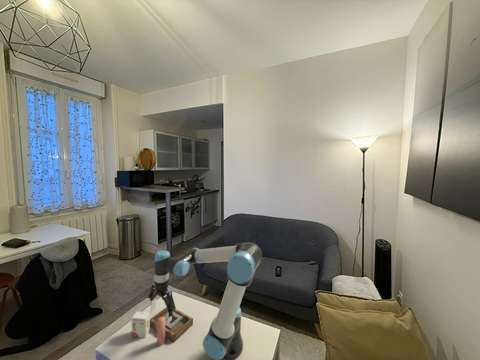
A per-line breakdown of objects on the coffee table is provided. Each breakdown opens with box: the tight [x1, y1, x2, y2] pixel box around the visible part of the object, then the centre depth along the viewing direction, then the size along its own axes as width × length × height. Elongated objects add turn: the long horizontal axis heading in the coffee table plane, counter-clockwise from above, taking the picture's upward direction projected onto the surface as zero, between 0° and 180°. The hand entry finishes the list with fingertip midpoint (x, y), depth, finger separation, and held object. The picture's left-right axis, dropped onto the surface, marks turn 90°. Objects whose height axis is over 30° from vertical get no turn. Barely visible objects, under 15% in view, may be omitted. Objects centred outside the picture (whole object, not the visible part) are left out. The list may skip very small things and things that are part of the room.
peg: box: [156, 317, 166, 347], centre depth 111 cm, size 4×4×14 cm
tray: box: [150, 306, 194, 343], centre depth 124 cm, size 22×15×4 cm
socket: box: [165, 312, 183, 331], centre depth 124 cm, size 10×10×3 cm
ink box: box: [131, 311, 151, 338], centre depth 116 cm, size 9×5×12 cm, turn 88°
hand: (161, 315), depth 110 cm, fingers open, 13 cm apart
